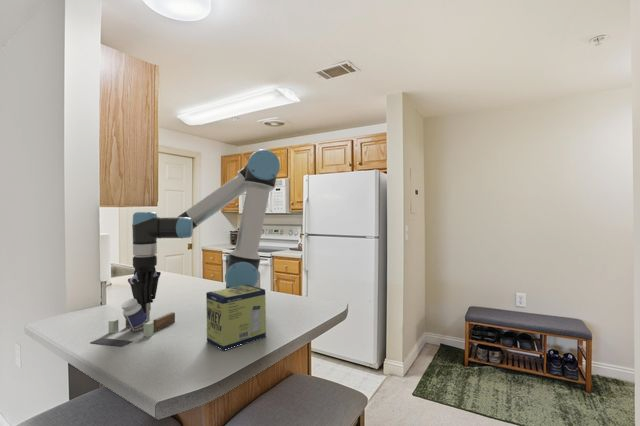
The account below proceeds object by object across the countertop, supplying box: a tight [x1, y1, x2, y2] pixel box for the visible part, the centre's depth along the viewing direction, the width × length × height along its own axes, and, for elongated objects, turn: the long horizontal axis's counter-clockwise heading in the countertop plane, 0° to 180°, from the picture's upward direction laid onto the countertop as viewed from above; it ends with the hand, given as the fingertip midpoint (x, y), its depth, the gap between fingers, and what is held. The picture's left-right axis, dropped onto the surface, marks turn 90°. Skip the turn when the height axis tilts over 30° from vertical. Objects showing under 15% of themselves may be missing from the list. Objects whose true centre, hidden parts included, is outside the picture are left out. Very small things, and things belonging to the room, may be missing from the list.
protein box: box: [205, 285, 267, 351], centre depth 103 cm, size 10×16×16 cm
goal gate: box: [108, 318, 154, 338], centre depth 108 cm, size 16×2×4 cm, turn 76°
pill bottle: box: [121, 298, 148, 332], centre depth 111 cm, size 6×6×10 cm
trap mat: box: [89, 337, 133, 348], centre depth 101 cm, size 12×4×1 cm, turn 76°
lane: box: [125, 311, 176, 331], centre depth 117 cm, size 13×9×4 cm
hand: (145, 321), depth 116 cm, fingers closed
